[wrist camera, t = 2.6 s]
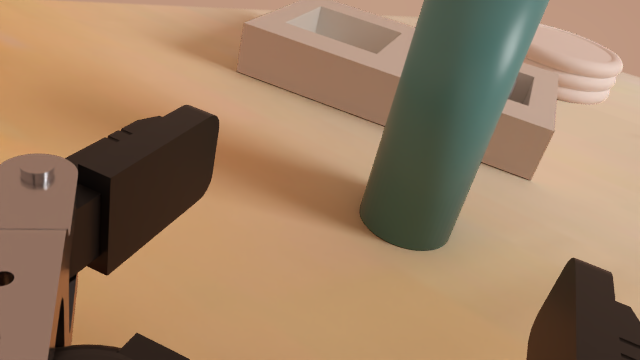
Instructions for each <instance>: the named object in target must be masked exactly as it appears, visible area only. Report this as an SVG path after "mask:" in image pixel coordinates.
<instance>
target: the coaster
mask: <svg viewBox="0 0 640 360" xmlns="http://www.w3.org/2000/svg"><path fill="white" fill-rule="evenodd" d="M523 63H526V64H529V65H532V66H535V67H538V68H541V69H544V70H547V71H550V72H553V73H556V74H559V77H558V91H557V100H561V101H566V102H571V103H577V104H589V105H590V104H599V103H601V102H604V101H605V100H606V99H607V98H608V96H609V91H610V90H609V89H610V88H612V87H613V86H614V85H615V82H616V76H617V75H618V74H619V73H620V72H621V71H622V67H623V63H622V61H621V59H620V58H619V56H618V55H617V54H615V53H614V52H612V51H611V50H609V49H608V48H606V47H604V46H602V45H600V44H598V43H596V42H594V41H592V40H589V39H587V38H584V37H582V36H579V35H577V34H574V33H571V32H568V31H565V30H562V29H559V28H555V27H552V26H548V25H543V24H539V26H538V28H537V30H536V33H535V35H534V38H533V40H532V42H531V45H530V47H529V49H528V52H527V54H526V57H525V59H524V61H523Z"/></svg>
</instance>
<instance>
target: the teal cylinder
mask: <svg viewBox="0 0 640 360" xmlns="http://www.w3.org/2000/svg"><path fill="white" fill-rule="evenodd" d="M548 2H549V0H424V2H423V6H422V9H421V12H420V15H419V18H418V22H417V25H416V28H415V31H414V35H413V38H412V41H411V44H410V47H409V51H408V54H407V57H406V60H405V64H404V67H403V70H402V73H401V77H400V80H399V83H398V86H397V89H396V93H395V96H394V99H393V102H392V106H391V109H390V112H389V115H388V118H387V122H386V125H385V128H384V131H383V135H382V138H381V141H380V144H379V148H378V151H377V154H376V157H375V160H374V164H373V167H372V170H371V173H370V177H369V180H368V183H367V186H366V190H365V193H364V196H363V199H362V202H361V206H360V216H361V219H362V221H363V222H364V224H365V225H366V226H367V227H368V228H369V229H370V230H371V231H372V232H373V233H374V234H375V235H377V236H378V237H380V238H381V239H383V240H385V241H387V242H389V243H391V244H394V245H396V246H399V247H402V248H406V249H411V250H419V251H426V250H434V249H437V248H440V247H442V246H443V245H445V244H446V242H447V241H448V239H449V237H450V235H451V232H452V230H453V227H454V225H455V223H456V220H457V218H458V216H459V213H460V211H461V208H462V206H463V204H464V201H465V199H466V197H467V194H468V192H469V190H470V187H471V185H472V182H473V180H474V178H475V175H476V173H477V171H478V168H479V166H480V163H481V161H482V159H483V156H484V154H485V152H486V149H487V147H488V144H489V142H490V140H491V137H492V135H493V133H494V130H495V128H496V125H497V123H498V121H499V118H500V116H501V114H502V111H503V109H504V106H505V104H506V102H507V99H508V97H509V95H510V92H511V90H512V87H513V85H514V83H515V80H516V78H517V76H518V73H519V71H520V68H521V66H522V64H523V61H524V59H525V57H526V54H527V52H528V49H529V47H530V45H531V42H532V40H533V38H534V35H535V33H536V30H537V28H538V26H539V23H540V21H541V19H542V16H543V14H544V11H545V9H546V7H547V4H548Z"/></svg>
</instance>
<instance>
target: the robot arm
mask: <svg viewBox="0 0 640 360" xmlns="http://www.w3.org/2000/svg"><path fill="white" fill-rule="evenodd" d="M218 132H219V120H218V117H217V116H215V115H213V114H210V113H208V112H205V111H202V110H200V109H197V108H195V107H192V106H190V105H184V106H182V107H180V108H178V109H176V110H175V111H173V112H171V113H169V114H167V115H166V116H164V117H161V116H157V117H152V118H147V119H142V120H137V121H135V122H133V123H131V124H130V125H128V126H126V127H124V128H122V129H121V131H116V132H114V133H112V134H110V135H109V136H108V138H103V139H101V140H99V141H97V142H95V143H93V144H91V145H90V146H88V147H86V148H84V149H82V150H80V151H78V152H76V153H74V154H72V155H70V156H69V157H67V158H65V159H64V158H62V157H59V156H55V155H50V154H26V155H21V156H17V157H13V158H11V159H8V160H6V161H4V162H3V163H2V164H0V360H190V359H188V358H186V357H184V356H182V355H180V354H178V353H176V352H174V351H172V350H170V349H168V348H166V347H164V346H162V345H160V344H158V343H156V342H154V341H152V340H150V339H148V338H146V337H144V336H142V335H140V334H138V333H136V334H135V335H134V336H133V337H132V338H131V339H130V340H129V341H128V342H127V343H126V344H125V345H124V346H123V347H122V348H118V347H112V346H104V345H71V342H72V333H73V323H74V314H75V305H76V295H77V286H78V272H79V271H81V270H82V269H83V268H84V267H86V266H88V267H90V268H92V269H94V270H96V271H98V272H100V273H102V274H104V275H109V274H110V273H111V272H112V271H114V270H115V269H116V268H117V267H118V266H120V265H121V264H122V263H123V262H124V261H126V260H127V259H128V258H129V257H131V256H132V255H133V254H134V253H135V252H137V251H138V250H139V249H140V248H141V247H143V246H144V245H145V244H146V243H147V242H149V241H150V240H151V239H152V238H154V237H155V236H156V235H157V234H158V233H160V232H161V231H162V230H163V229H164V228H166V227H167V226H168V225H169V224H170V223H172V222H173V221H174V220H175V219H177V218H178V217H179V216H180V215H181V214H183V213H184V212H185V211H186V210H187V209H189V208H190V207H191V206H192V205H194V204H195V203H196V202H197V201H198V200H199V199H201V197H202V196H203V195H204V194H205V192H206V190H207V188H208V186H209V184H210V181H211V178H212V173H213V166H214V159H215V153H216V146H217V139H218ZM527 360H640V321H639V320H638V318H637V317H636V315H635V313H634V312H633V310H632V309H631V307H629V306H627V305H624V304H622V303H619V302H617V301H615V294H614V284H613V276H612V273H611V272H609V271H606V270H604V269H601V268H599V267H596V266H594V265H591V264H589V263H586V262H584V261H581V260H578V259H576V258H571V259H570V260H569V261H568V263H567V264H566V266H565V267H564V269H563V271H562V272H561V274H560V276H559V278H558V279H557V281H556V283H555V285H554V286H553V288H552V290H551V292H550V293H549V295H548V297H547V299H546V300H545V302H544V304H543V306H542V307H541V309H540V311H539V313H538V315H537V317H536V319H535V321H534V324H533V326H532V329H531V332H530V336H529V340H528V349H527Z"/></svg>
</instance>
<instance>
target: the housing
mask: <svg viewBox="0 0 640 360" xmlns="http://www.w3.org/2000/svg"><path fill="white" fill-rule="evenodd" d="M415 28H416V27H413V26H410V25H407V24H403V23H400V22H397V21H394V20H391V19H388V18H385V17H382V16H379V15H376V14H373V13H370V12H367V11H364V10H361V9H357V8H355V7H351V6H348V5H345V4H342V3H339V2H336V1H333V0H300V1H297V2H295V3H293V4H290V5H287V6H285V7H282V8H280V9H277V10H275V11H272V12H270V13H267V14H265V15H262V16H260V17H257V18H255V19H252V20H249V21H247V22H244V25H243V31H242V38H241V45H240V51H239V58H238V64H237V72H240V73H243V74H245V75H248V76H251V77H253V78H256V79H259V80H262V81H264V82H267V83H270V84H272V85H275V86H278V87H280V88H283V89H286V90H288V91H291V92H294V93H297V94H299V95H302V96H305V97H307V98H310V99H313V100H315V101H318V102H321V103H324V104H326V105H329V106H332V107H334V108H337V109H340V110H342V111H345V112H348V113H350V114H353V115H356V116H359V117H361V118H364V119H367V120H369V121H372V122H375V123H377V124H380V125H383V126H385V125H386V122H387V118H388V115H389V112H390V109H391V106H392V102H393V99H394V96H395V93H396V89H397V86H398V83H399V80H400V77H401V73H402V70H403V67H404V64H405V60H406V57H407V54H408V51H409V47H410V44H411V41H412V38H413V35H414V31H415ZM558 77H559V74H556V73H553V72H550V71H547V70H544V69H541V68H538V67H535V66H532V65H529V64H526V63H523V64H522V66H521V68H520V71H519V73H518V76H517V78H516V80H515V83H514V85H513V87H512V90H511V92H510V95H509V97H508V99H507V102H506V104H505V106H504V109H503V111H502V114H501V116H500V118H499V121H498V123H497V125H496V128H495V130H494V133H493V135H492V137H491V140H490V142H489V144H488V147H487V149H486V152H485V154H484V156H483V159H482V161H481V162H483V163H485V164H488V165H491V166H493V167H496V168H499V169H501V170H504V171H507V172H510V173H512V174H515V175H518V176H520V177H523V178H526V179H528V180H531V179H532V177H533V175H534V173H535V171H536V169H537V166H538V164H539V162H540V160H541V158H542V156H543V154H544V152H545V150H546V148H547V146H548V144H549V142H550V140H551V137H552V135H553V133H554V131H555V118H556V104H557V91H558Z"/></svg>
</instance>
